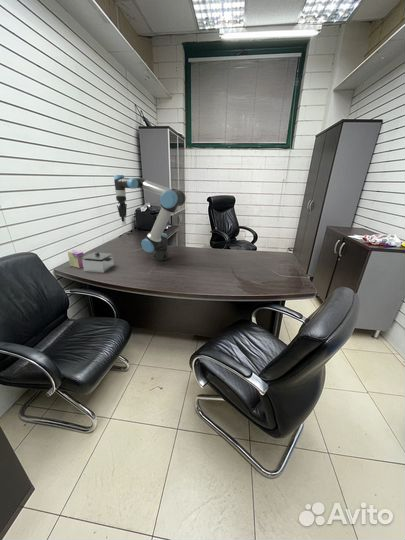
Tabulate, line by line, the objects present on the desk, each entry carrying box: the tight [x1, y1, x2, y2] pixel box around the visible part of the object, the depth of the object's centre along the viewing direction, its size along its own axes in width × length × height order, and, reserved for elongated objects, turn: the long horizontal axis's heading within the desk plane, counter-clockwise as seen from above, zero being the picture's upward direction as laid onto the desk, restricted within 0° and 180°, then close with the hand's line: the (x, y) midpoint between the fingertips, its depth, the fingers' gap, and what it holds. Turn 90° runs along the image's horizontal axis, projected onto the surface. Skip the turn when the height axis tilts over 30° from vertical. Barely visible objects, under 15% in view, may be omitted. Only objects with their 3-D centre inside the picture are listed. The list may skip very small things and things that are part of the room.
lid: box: [82, 251, 113, 260], centre depth 168 cm, size 16×15×3 cm
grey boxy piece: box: [82, 254, 115, 274], centre depth 171 cm, size 20×15×9 cm
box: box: [67, 249, 85, 269], centre depth 173 cm, size 10×6×12 cm, turn 65°
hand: (124, 224), depth 185 cm, fingers closed
